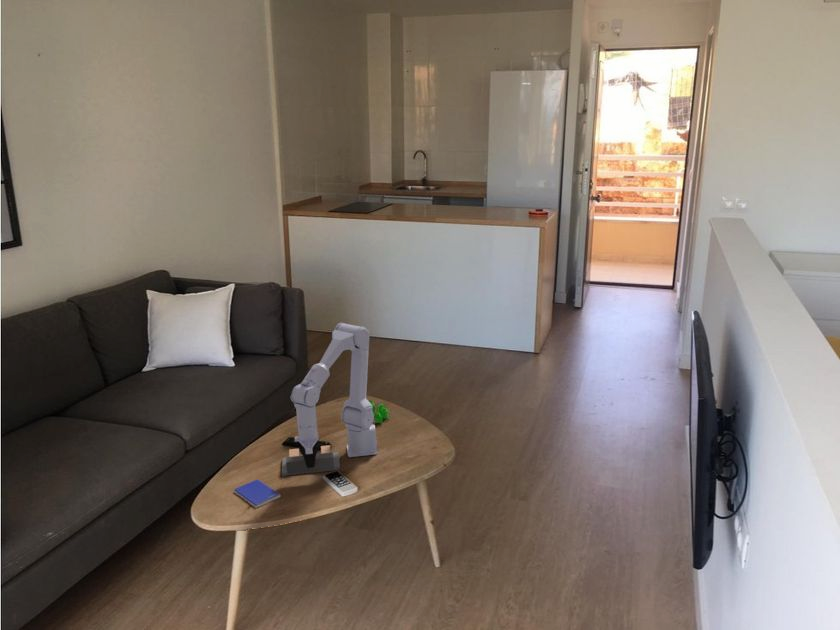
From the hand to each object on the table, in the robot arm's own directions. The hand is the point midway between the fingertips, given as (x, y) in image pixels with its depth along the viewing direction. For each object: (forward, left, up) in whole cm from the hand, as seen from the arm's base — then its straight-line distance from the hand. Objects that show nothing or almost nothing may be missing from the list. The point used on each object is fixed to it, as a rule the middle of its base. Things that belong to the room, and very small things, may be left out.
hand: (310, 464), depth 201 cm
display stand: (0, -10, -6) cm, 11 cm away
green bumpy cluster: (-22, -40, -6) cm, 47 cm away
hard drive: (+16, +4, -7) cm, 18 cm away
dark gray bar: (0, 0, -2) cm, 2 cm away
